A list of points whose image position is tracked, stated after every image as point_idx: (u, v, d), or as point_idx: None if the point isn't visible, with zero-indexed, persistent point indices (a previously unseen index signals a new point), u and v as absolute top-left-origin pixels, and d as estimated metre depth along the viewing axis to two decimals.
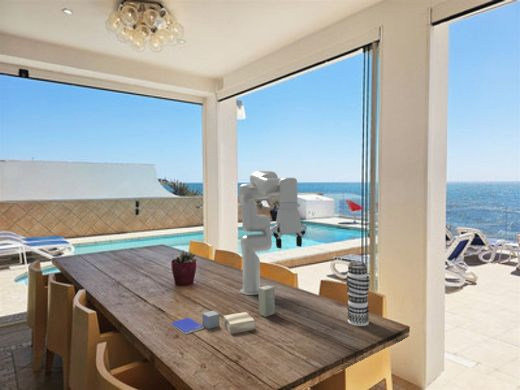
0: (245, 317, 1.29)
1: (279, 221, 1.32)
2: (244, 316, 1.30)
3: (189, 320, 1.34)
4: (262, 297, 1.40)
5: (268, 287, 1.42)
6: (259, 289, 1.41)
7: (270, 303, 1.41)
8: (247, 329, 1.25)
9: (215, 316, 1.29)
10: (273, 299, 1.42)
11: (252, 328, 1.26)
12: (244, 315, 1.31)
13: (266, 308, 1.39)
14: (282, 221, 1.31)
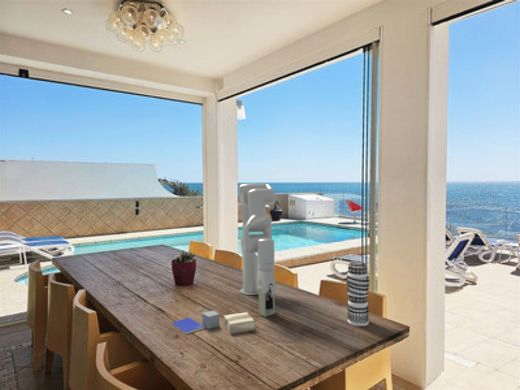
0: (245, 317, 1.29)
1: (272, 281, 1.38)
2: (244, 316, 1.30)
3: (190, 320, 1.34)
4: (261, 296, 1.40)
5: None
6: (259, 289, 1.41)
7: None
8: (246, 329, 1.25)
9: (215, 316, 1.29)
10: (273, 299, 1.42)
11: (252, 328, 1.25)
12: (245, 315, 1.31)
13: None
14: (274, 281, 1.39)
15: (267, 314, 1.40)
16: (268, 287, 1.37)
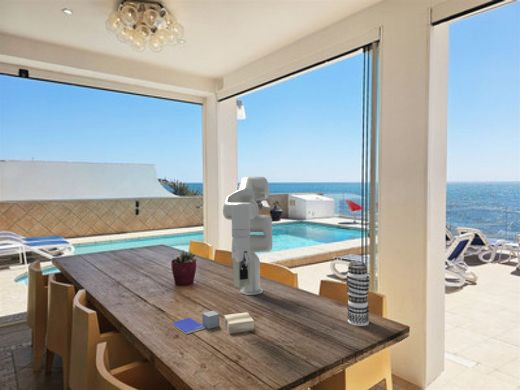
0: (245, 317, 1.29)
1: (247, 249, 1.26)
2: (244, 316, 1.30)
3: (190, 320, 1.34)
4: (235, 266, 1.28)
5: None
6: (233, 258, 1.29)
7: None
8: (246, 329, 1.25)
9: (215, 316, 1.29)
10: (249, 269, 1.30)
11: (251, 328, 1.25)
12: (245, 315, 1.31)
13: None
14: (249, 248, 1.27)
15: (241, 285, 1.28)
16: (242, 255, 1.25)
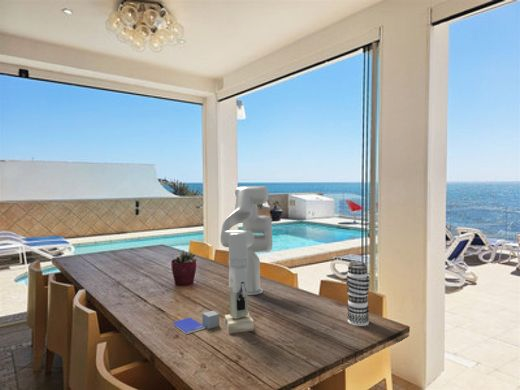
0: (245, 317, 1.29)
1: (244, 280, 1.25)
2: (244, 317, 1.30)
3: (190, 320, 1.34)
4: (232, 296, 1.27)
5: None
6: (230, 288, 1.28)
7: None
8: (246, 329, 1.24)
9: (215, 316, 1.29)
10: (246, 299, 1.29)
11: (251, 328, 1.25)
12: None
13: None
14: (246, 279, 1.26)
15: (239, 316, 1.26)
16: (239, 286, 1.24)
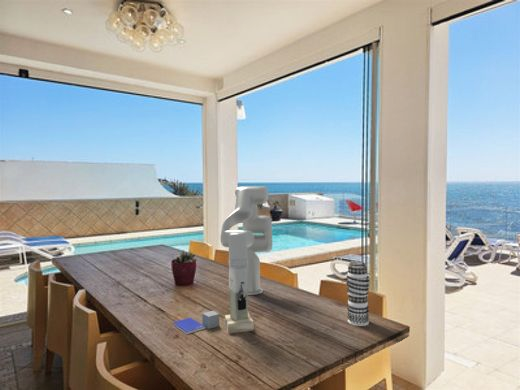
0: (245, 318, 1.29)
1: (244, 280, 1.25)
2: None
3: (191, 320, 1.34)
4: (232, 298, 1.27)
5: None
6: (230, 290, 1.28)
7: None
8: (245, 330, 1.24)
9: (215, 316, 1.29)
10: (246, 301, 1.29)
11: (251, 329, 1.25)
12: None
13: (237, 311, 1.26)
14: (246, 279, 1.26)
15: (238, 318, 1.27)
16: (239, 286, 1.24)
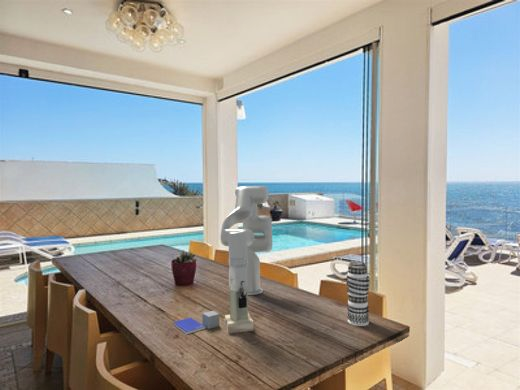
0: None
1: (244, 279, 1.25)
2: None
3: (191, 320, 1.34)
4: (232, 299, 1.26)
5: None
6: (230, 290, 1.28)
7: None
8: (245, 330, 1.24)
9: (215, 316, 1.29)
10: None
11: (251, 329, 1.25)
12: None
13: (237, 312, 1.25)
14: (246, 278, 1.26)
15: (238, 319, 1.26)
16: (239, 285, 1.24)
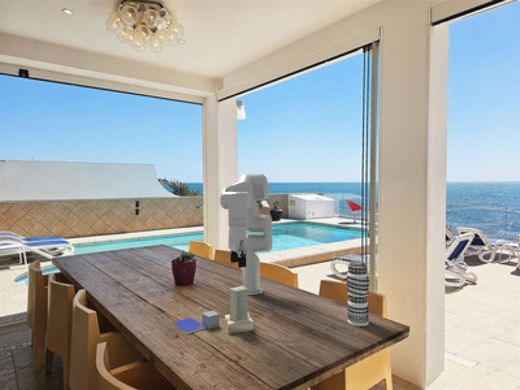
0: (245, 318, 1.29)
1: (243, 238, 1.25)
2: None
3: (191, 320, 1.34)
4: (232, 298, 1.26)
5: (241, 288, 1.28)
6: (230, 290, 1.28)
7: (242, 306, 1.27)
8: (245, 330, 1.24)
9: (215, 316, 1.29)
10: (246, 302, 1.28)
11: (250, 329, 1.25)
12: None
13: (236, 312, 1.26)
14: (246, 238, 1.26)
15: (238, 318, 1.26)
16: (239, 244, 1.24)
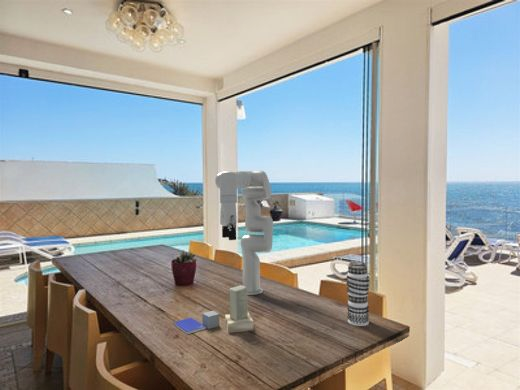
0: (245, 317, 1.29)
1: (234, 213, 1.36)
2: None
3: (192, 320, 1.34)
4: (232, 298, 1.27)
5: (240, 288, 1.28)
6: (230, 290, 1.28)
7: (242, 306, 1.28)
8: (245, 329, 1.25)
9: (215, 316, 1.29)
10: (246, 301, 1.29)
11: (251, 328, 1.25)
12: None
13: (237, 311, 1.26)
14: None
15: (238, 318, 1.27)
16: (229, 218, 1.35)
